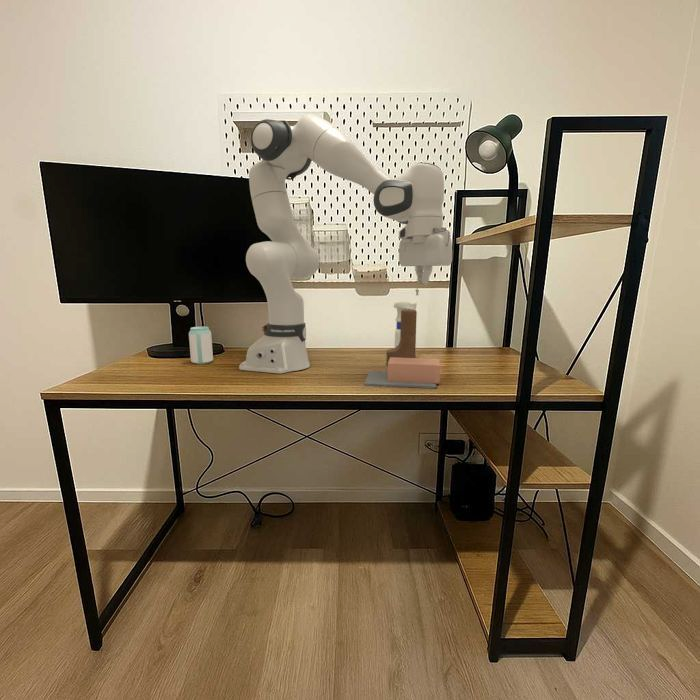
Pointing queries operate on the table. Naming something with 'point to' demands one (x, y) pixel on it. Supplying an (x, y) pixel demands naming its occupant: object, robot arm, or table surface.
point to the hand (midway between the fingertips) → (422, 283)
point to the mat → (382, 380)
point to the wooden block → (405, 336)
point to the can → (200, 345)
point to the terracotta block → (414, 370)
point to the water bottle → (400, 307)
